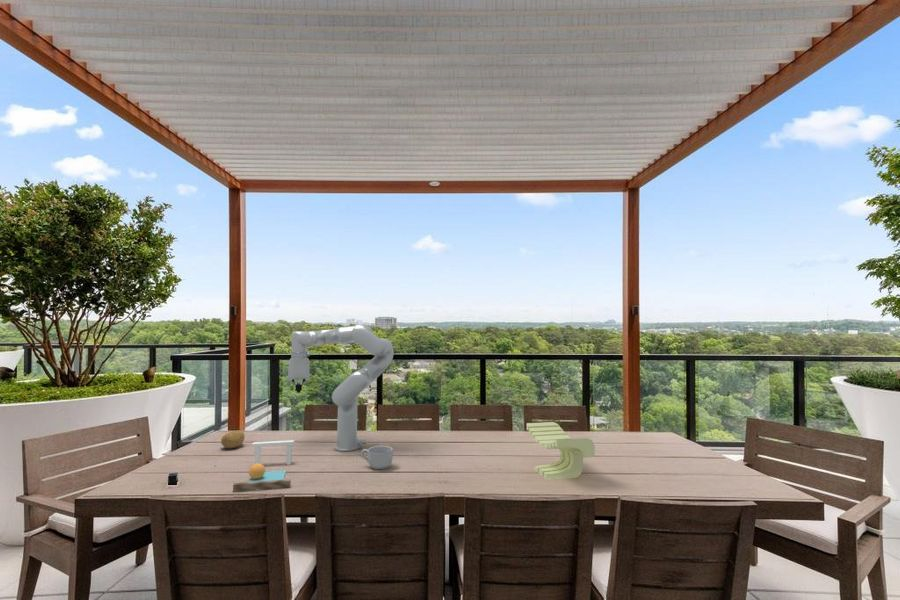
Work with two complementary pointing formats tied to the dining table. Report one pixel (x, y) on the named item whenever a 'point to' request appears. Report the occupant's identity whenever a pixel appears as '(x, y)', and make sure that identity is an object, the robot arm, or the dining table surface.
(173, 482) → the black angular piece
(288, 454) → the bridge
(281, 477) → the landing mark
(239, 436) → the potato
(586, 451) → the green ribbed curved stand
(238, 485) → the stopper
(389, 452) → the teacup
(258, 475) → the ball
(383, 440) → the dining table surface
